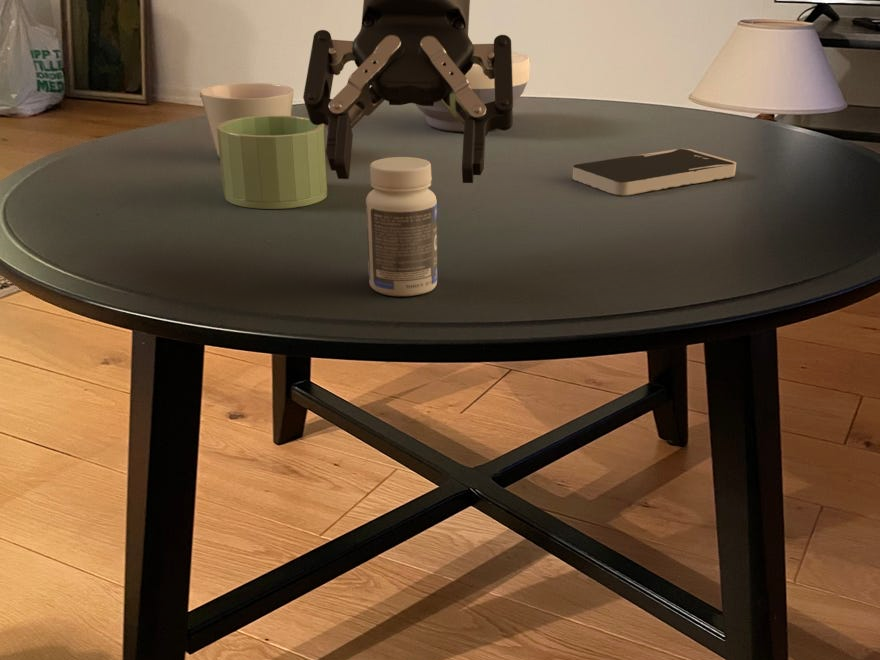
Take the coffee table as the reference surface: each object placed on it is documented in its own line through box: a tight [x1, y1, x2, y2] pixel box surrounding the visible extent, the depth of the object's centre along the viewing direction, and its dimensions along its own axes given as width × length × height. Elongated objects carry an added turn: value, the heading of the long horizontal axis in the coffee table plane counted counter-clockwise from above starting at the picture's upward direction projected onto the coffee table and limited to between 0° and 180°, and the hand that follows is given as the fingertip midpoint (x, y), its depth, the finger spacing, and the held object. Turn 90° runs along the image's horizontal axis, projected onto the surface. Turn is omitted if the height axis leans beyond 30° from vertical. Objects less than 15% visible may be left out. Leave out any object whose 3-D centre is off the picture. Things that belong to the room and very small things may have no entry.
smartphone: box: [572, 148, 737, 197], centre depth 99 cm, size 8×1×15 cm
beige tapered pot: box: [199, 82, 294, 158], centre depth 102 cm, size 9×9×6 cm
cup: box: [217, 115, 329, 210], centre depth 90 cm, size 9×9×6 cm
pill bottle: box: [365, 156, 438, 297], centre depth 69 cm, size 5×5×8 cm
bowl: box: [415, 51, 531, 133], centre depth 117 cm, size 14×14×8 cm
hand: (404, 175), depth 69 cm, fingers open, 8 cm apart
